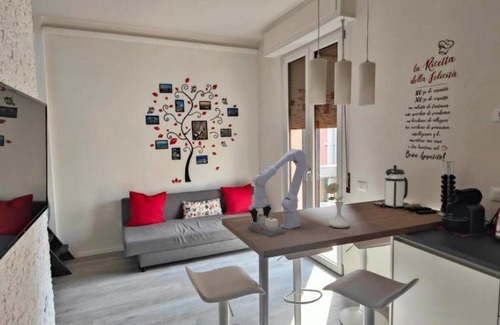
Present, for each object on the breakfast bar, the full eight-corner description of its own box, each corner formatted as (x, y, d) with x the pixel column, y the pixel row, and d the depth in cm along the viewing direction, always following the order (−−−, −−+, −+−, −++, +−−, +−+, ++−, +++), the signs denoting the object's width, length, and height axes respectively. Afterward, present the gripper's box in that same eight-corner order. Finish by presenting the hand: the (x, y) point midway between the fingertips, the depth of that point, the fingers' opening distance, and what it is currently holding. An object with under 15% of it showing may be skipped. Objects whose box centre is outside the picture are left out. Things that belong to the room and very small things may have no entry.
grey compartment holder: (261, 225, 186) (261, 211, 185) (284, 233, 171) (284, 217, 170) (247, 228, 180) (247, 213, 179) (270, 237, 165) (270, 220, 164)
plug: (259, 224, 183) (259, 212, 182) (266, 227, 178) (266, 214, 177) (253, 225, 180) (253, 213, 180) (260, 228, 175) (260, 215, 175)
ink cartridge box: (267, 216, 206) (266, 194, 204) (264, 218, 201) (264, 195, 200) (254, 215, 209) (254, 193, 208) (251, 217, 204) (251, 194, 203)
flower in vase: (348, 224, 187) (348, 181, 185) (350, 229, 176) (351, 184, 174) (324, 223, 190) (325, 181, 188) (326, 228, 178) (326, 184, 176)
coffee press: (407, 210, 220) (408, 166, 217) (382, 208, 226) (383, 165, 224) (407, 205, 235) (408, 164, 233) (383, 203, 242) (384, 163, 239)
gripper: (265, 194, 185) (265, 217, 186) (245, 197, 176) (245, 221, 177) (273, 195, 180) (273, 219, 181) (253, 199, 171) (253, 224, 172)
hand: (260, 220), depth 179 cm, fingers open, 7 cm apart
